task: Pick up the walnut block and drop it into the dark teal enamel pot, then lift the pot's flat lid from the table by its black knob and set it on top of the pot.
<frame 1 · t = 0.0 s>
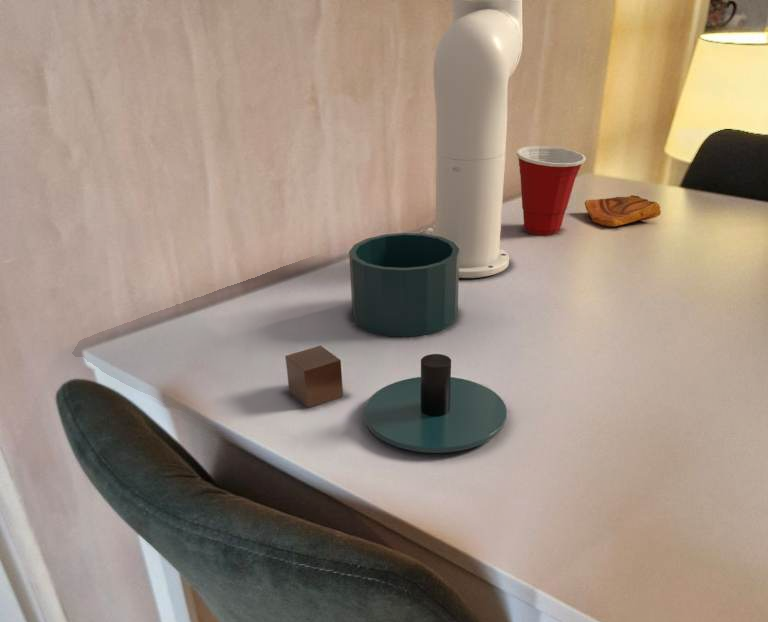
pot: (404, 314, 100), on the table
block: (316, 394, 84), on the table
plastic cup: (543, 231, 126), on the table
lid: (435, 414, 79), point 1 cm above the table
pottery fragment: (616, 219, 130), on the table
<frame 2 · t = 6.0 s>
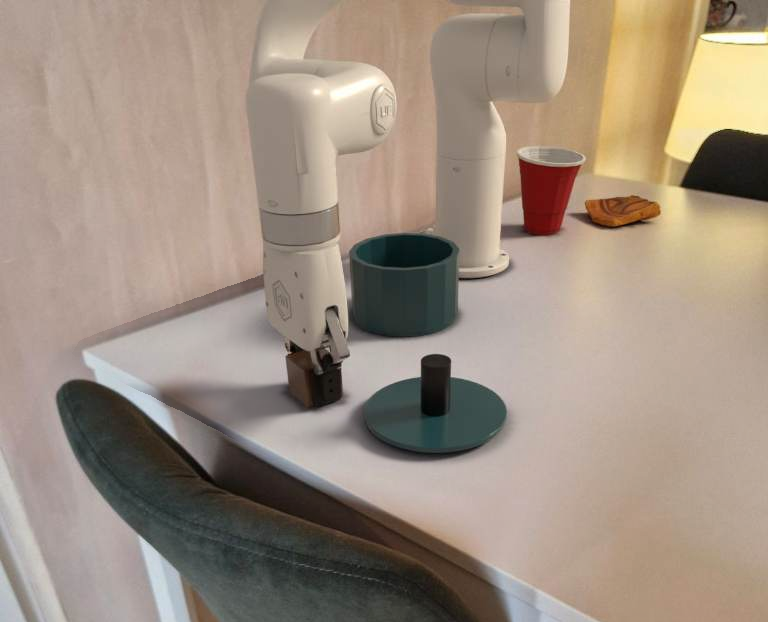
hand: (315, 391, 84), 0 cm above the table, tool pointing down, fingers closed on block, 4 cm apart
block: (316, 394, 84), on the table, touching gripper
everything else where it was.
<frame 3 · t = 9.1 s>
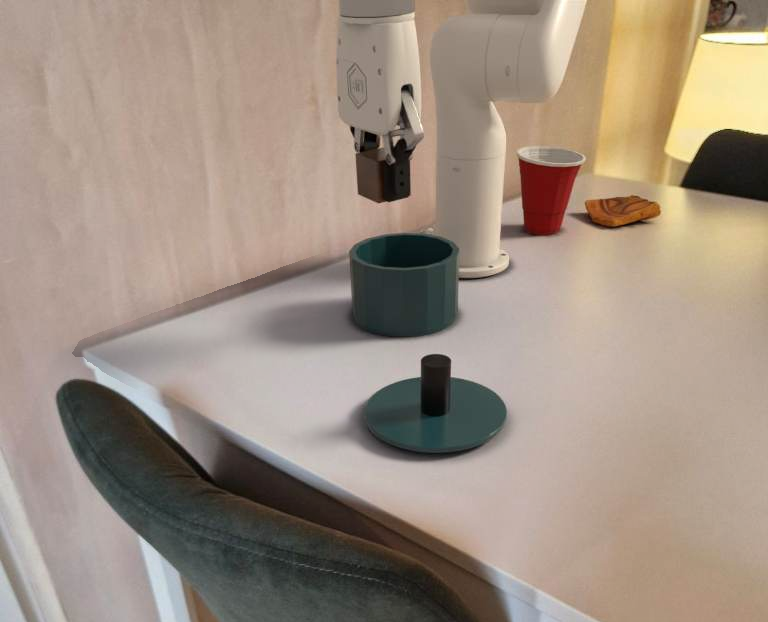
hand: (384, 192, 87), 17 cm above the table, tool pointing down, fingers closed on block, 4 cm apart
block: (384, 195, 87), point 16 cm above the table, touching gripper
everything else where it was.
when the fingers open (8 cm above the table, at t = 12.1 s): block drops 7 cm, resting on pot.
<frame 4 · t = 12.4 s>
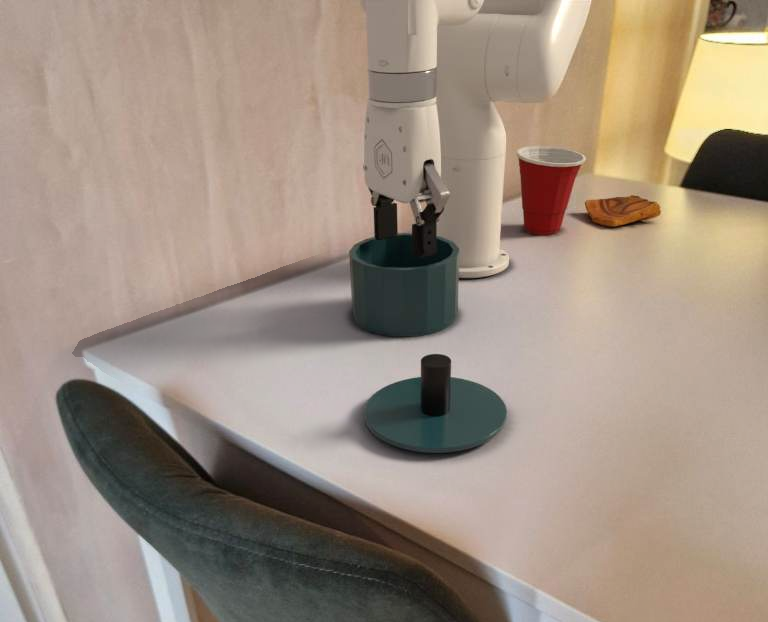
hand: (404, 245, 95), 9 cm above the table, tool pointing down, fingers open, 7 cm apart
block: (405, 311, 100), resting on pot
everything else where it was.
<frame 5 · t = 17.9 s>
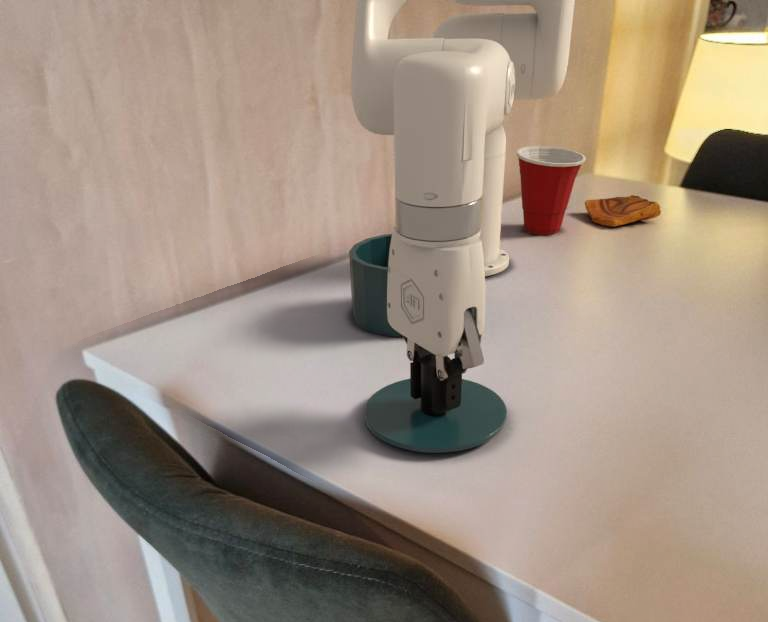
hand: (435, 400, 78), 2 cm above the table, tool pointing down, fingers closed on lid, 3 cm apart
lid: (435, 414, 79), point 1 cm above the table, touching gripper
everything else where it was.
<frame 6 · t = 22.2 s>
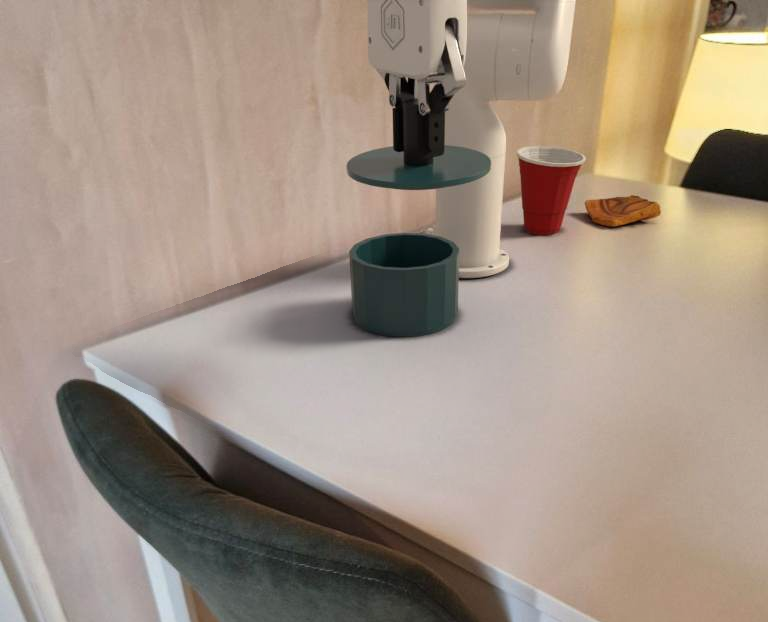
hand: (418, 151, 76), 23 cm above the table, tool pointing down, fingers closed on lid, 3 cm apart
lid: (418, 168, 77), point 21 cm above the table, touching gripper
everything else where it was.
when the fingers open (10 cm above the table, at t = 26.6 s): lid stays where it is, resting on pot.
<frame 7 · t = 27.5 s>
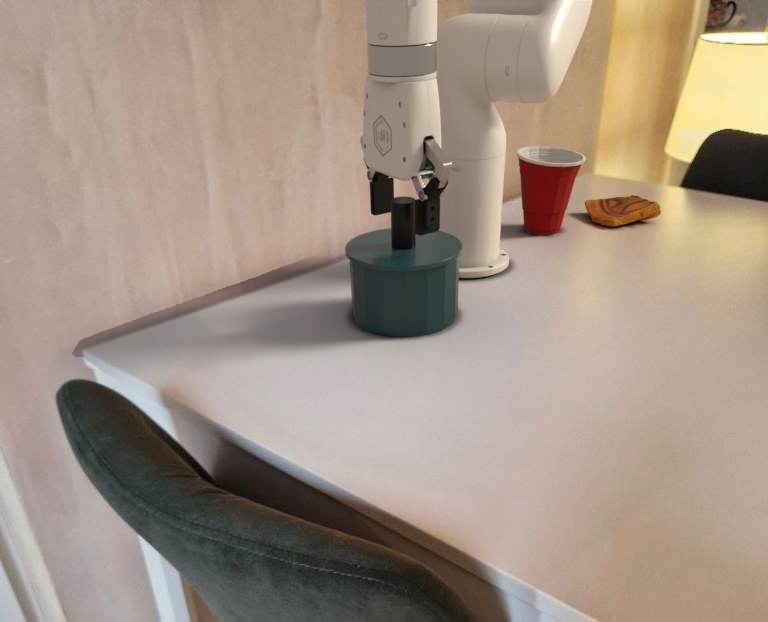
hand: (404, 222, 93), 12 cm above the table, tool pointing down, fingers open, 9 cm apart
lid: (403, 250, 95), point 8 cm above the table, touching pot
everything else where it was.
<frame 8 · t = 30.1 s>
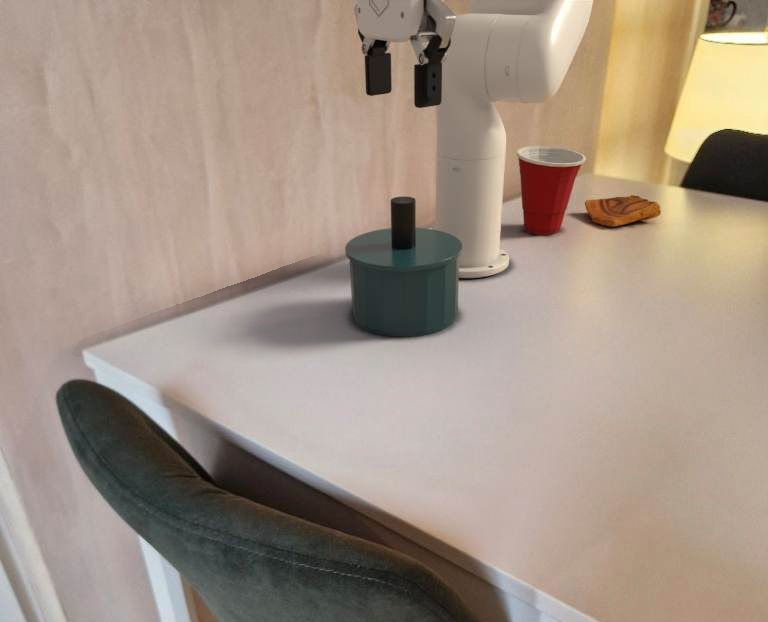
hand: (402, 99, 85), 25 cm above the table, tool pointing down, fingers open, 9 cm apart
nothing on the table moved.
at the end: block inside the target area in the pot (0.0 cm from its centre), point 0.5 cm above the pot's base; lid 0.1 cm off-centre on the pot, point 8.5 cm above the pot's base; lid tilted 0° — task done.
